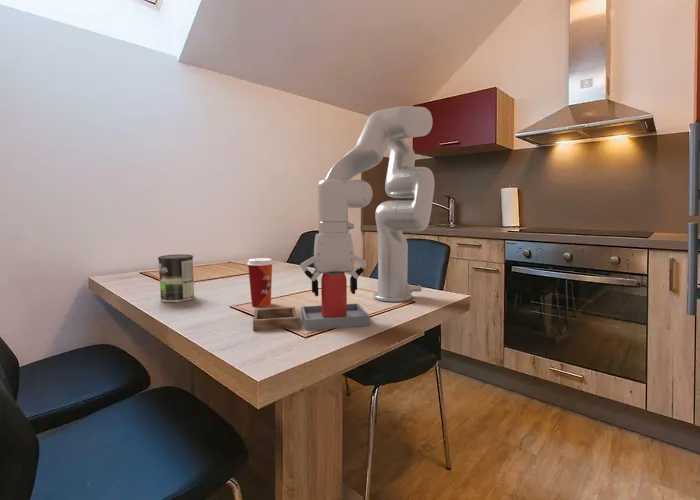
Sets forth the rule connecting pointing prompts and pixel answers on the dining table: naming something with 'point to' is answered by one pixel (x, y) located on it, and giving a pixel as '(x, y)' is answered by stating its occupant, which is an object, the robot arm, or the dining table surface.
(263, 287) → the paper cup
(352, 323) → the tray
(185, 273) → the coffee can
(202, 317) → the dining table surface
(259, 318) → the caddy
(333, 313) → the beer can
